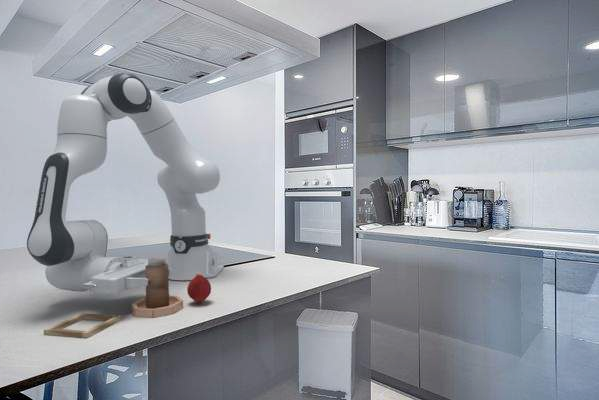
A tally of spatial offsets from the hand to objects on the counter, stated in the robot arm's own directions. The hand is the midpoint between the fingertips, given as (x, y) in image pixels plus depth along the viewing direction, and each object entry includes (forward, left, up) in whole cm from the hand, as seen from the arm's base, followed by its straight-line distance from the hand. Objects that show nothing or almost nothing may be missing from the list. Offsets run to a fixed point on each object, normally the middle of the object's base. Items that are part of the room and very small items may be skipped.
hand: (160, 277), depth 87 cm
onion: (-6, +7, -8) cm, 12 cm away
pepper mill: (0, -1, -7) cm, 7 cm away
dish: (0, -1, -8) cm, 8 cm away
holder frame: (+13, -10, -8) cm, 18 cm away
